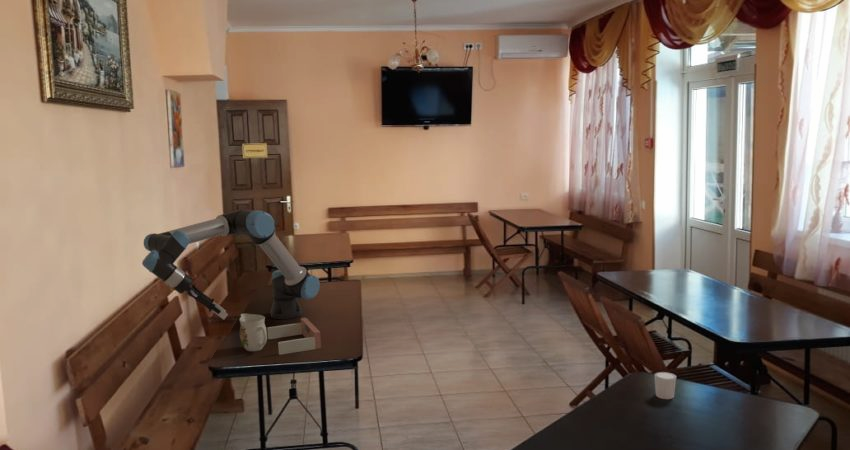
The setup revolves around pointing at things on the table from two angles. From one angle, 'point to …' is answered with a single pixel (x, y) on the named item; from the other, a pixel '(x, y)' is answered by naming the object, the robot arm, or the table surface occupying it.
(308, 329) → the deck bay
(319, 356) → the table surface
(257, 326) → the pitcher
